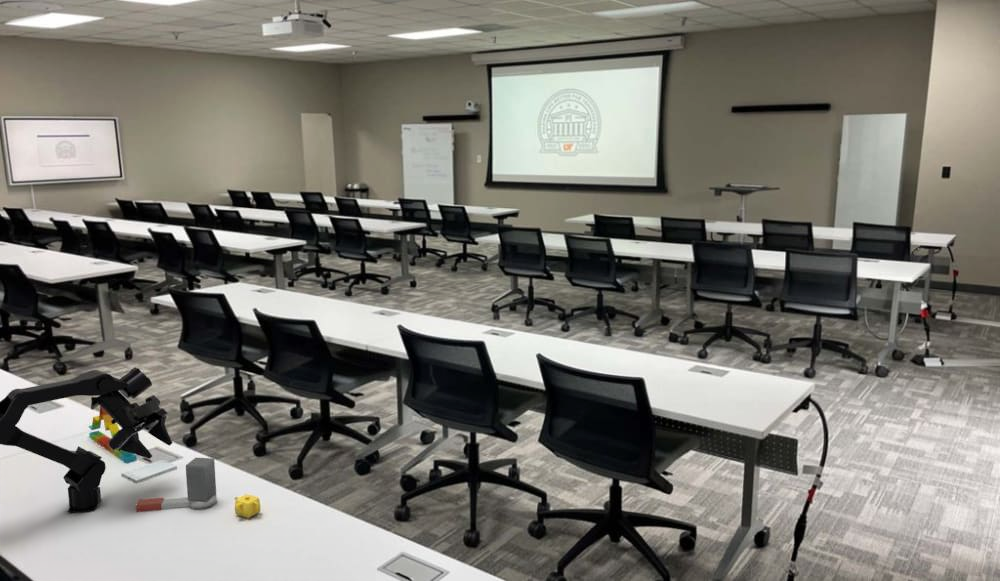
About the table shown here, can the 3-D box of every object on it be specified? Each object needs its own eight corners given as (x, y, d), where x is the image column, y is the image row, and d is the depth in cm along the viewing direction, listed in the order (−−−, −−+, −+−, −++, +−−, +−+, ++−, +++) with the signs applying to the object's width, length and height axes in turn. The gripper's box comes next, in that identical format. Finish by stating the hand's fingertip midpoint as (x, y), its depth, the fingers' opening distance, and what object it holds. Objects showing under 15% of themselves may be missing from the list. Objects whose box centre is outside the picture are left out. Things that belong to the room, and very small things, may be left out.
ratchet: (134, 515, 188) (133, 500, 188) (141, 503, 195) (140, 488, 194) (214, 508, 192) (213, 494, 192) (218, 497, 199) (217, 482, 198)
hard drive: (161, 459, 221) (121, 472, 211) (176, 465, 217) (136, 479, 207) (162, 464, 222) (121, 478, 212) (177, 470, 217) (136, 485, 207)
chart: (137, 461, 223) (133, 414, 220) (126, 464, 220) (122, 417, 218) (100, 435, 243) (96, 392, 240) (89, 438, 240) (85, 394, 238)
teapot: (225, 516, 188) (224, 498, 187) (242, 507, 193) (242, 489, 192) (248, 524, 185) (247, 505, 184) (265, 514, 190) (264, 496, 189)
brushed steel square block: (187, 501, 192) (185, 465, 191) (197, 492, 198) (195, 457, 196) (206, 502, 192) (204, 466, 190) (216, 493, 197) (214, 458, 195)
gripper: (115, 401, 184) (159, 445, 185) (158, 379, 203) (198, 419, 203) (89, 428, 187) (132, 472, 187) (134, 405, 205) (173, 444, 206)
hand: (161, 450), depth 196 cm, fingers open, 9 cm apart
